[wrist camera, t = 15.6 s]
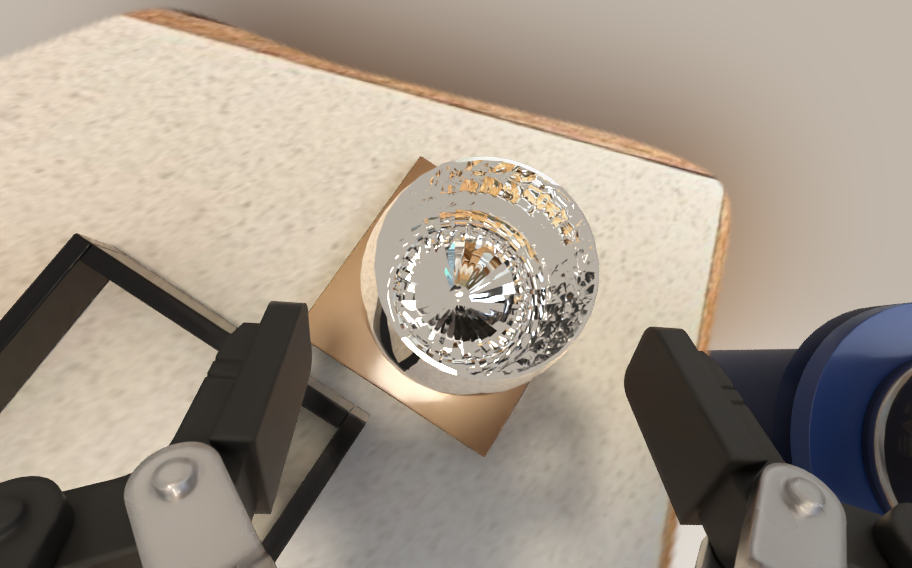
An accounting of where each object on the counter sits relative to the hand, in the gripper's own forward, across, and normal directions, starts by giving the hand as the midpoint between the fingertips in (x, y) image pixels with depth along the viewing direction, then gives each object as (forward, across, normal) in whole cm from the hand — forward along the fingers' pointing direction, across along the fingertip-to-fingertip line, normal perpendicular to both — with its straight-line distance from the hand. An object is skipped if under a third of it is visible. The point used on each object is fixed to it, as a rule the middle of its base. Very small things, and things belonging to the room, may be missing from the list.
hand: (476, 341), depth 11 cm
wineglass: (+8, 0, +6) cm, 10 cm away
